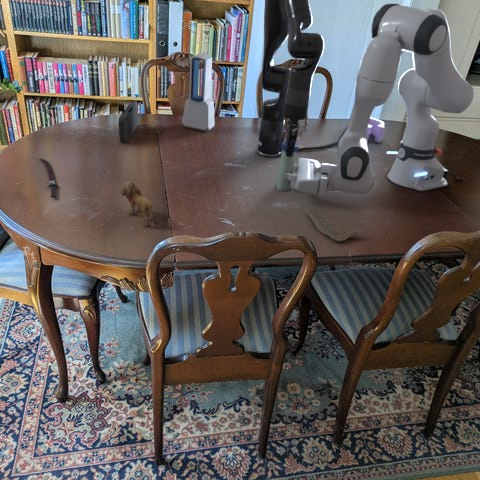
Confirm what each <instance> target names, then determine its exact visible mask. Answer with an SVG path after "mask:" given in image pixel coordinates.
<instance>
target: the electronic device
mask: <svg viewBox="0 0 480 480" xmlns="http://www.w3.org/2000/svg"><path fill="white" fill-rule="evenodd" d="M200 61H202V62H203V65H202V66H203V67H202V69H203V70H202V89H201V90H202V91H201V96H200V95H199V83H200V82H199V80H200ZM212 73H213V56H211V55H209V54H207V53H199V54H196V55H193V56H191V57H190V68H189V97H188V98H187V99H186V100H185V101H184V106H183V107H184V108H183V114H182V118H181V123H182V125H183V127H184V128H185V129H191V130H196V131H200V132H204V133H208V132H209V131H210V130H212V129H213V128H214V127H215V124H216V123H215V102H214V101H213V99H212V98H211V92H212V91H211V90H212Z"/></svg>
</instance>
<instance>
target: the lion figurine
mask: <svg viewBox="0 0 480 480" xmlns="http://www.w3.org/2000/svg"><path fill="white" fill-rule="evenodd" d="M119 193H120V194H121V196H122V197H124V196H125V198H126V199H127V200H128V202H129V203H130V207H131V211H130V212H129V213H130V215H135V214H136V211H137V212H141V214H142V216H143V218H144V219H145V223H144V225H145V227H149V226H150V221H152V223H153V225H155V226H159V222H156V221H155V219H154V217H153V216H154V215H153V204H152V202H151V200H150V199H148V198H146V197H145V196H144V195H143V194H142V192H141V190H140V187H138V185H136V184H135V183H133V182H132V181H125V182H124V186H122V188H121V189H119ZM136 207H137V208H136ZM148 214H149V216H148Z"/></svg>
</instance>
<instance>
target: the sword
mask: <svg viewBox="0 0 480 480" xmlns="http://www.w3.org/2000/svg"><path fill="white" fill-rule="evenodd" d="M40 161H41V162H42V163H43V165H44V166H45V169H46V173H47V176H48V185H47V188H50V198H56V197H57V189H56V188H57V187H59V185H58V184H57V183H56V180H55V176H54V172H53V169H52V167H51V164H50V163H49V161H48V160H46V159H43V158H40Z"/></svg>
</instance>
